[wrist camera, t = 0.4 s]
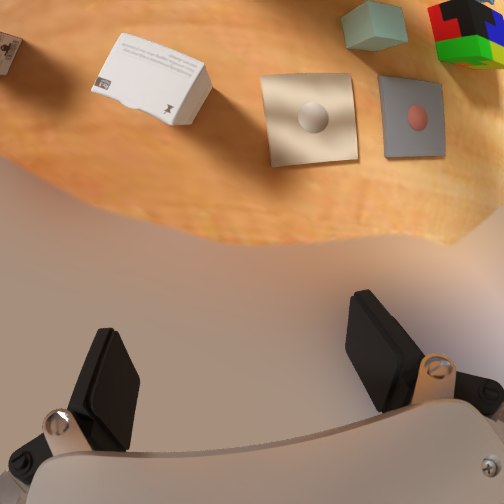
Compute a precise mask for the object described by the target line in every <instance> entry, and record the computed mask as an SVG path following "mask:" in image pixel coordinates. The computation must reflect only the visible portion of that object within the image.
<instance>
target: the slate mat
mask: <svg viewBox="0 0 504 504" xmlns="http://www.w3.org/2000/svg"><path fill="white" fill-rule="evenodd" d="M378 81H379V89H380V99H381V109H382V121H383V137H384V156H385V157H408V156H445V120H444V105H443V93H442V84H439V83H433V82H427V81H421V80H414V79H407V78H398V77H389V76H378Z"/></svg>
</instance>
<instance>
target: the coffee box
mask: <svg viewBox="0 0 504 504" xmlns="http://www.w3.org/2000/svg"><path fill="white" fill-rule="evenodd" d="M21 41H22V39H21V38H18V37H15V36H12V35H9V34H6V33H2V32H0V75H7V73H8V70H9V68H10V66H11V63H12V61H13V59H14V56H15V54H16V52H17V50H18V48H19V45H20V43H21Z"/></svg>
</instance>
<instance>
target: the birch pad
mask: <svg viewBox="0 0 504 504" xmlns="http://www.w3.org/2000/svg"><path fill="white" fill-rule="evenodd" d="M260 83H261V90H262V97H263V105H264V113H265V120H266V128H267V136H268V144H269V153H270V161H271V167H272V168H273V167H281V166H290V165H298V164H307V163H317V162H328V161H339V160H352V159H358V149H357V134H356V122H355V111H354V101H353V92H352V83H351V76H350V74H345V73H296V74H276V75H262V76H260Z"/></svg>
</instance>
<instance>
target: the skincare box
mask: <svg viewBox="0 0 504 504" xmlns="http://www.w3.org/2000/svg"><path fill="white" fill-rule="evenodd" d="M212 88H213V86H212V83H211V80H210V78H209V75H208V73H207V70H206V67H205V63H203V62H201V61H199V60H196V59H194V58H192V57H190V56H188V55H185V54H183V53H181V52H178V51H176V50H174V49H171V48H169V47H166V46H163V45H161V44H158V43H155V42H152V41H149V40H146V39H144V38H141V37H138V36H134V35H131V34H127V33H121V35H120V37H119V38H118V40H117V42H116V43H115V45H114V47H113V49H112V50H111V52H110V54H109V56H108V58H107V60H106V62H105V64H104V65H103V67H102V69H101V71H100V73H99V75H98V77H97V79H96V81H95V83H94V85H93V87H92V89H91V91H92V92H95V93H97V94H100V95H103V96H106V97H108V98H111V99H113V100H116V101H118V102H121V103H122V104H123V105H125V106H127V107H129V108H132V109H138V110H140V111H142V112H145V113H147V114H149V115H151V116H154V117H156V118H158V119H159V120H161V121H163V122H165V123H167V124H168V125H191V124H192V123H193V121H194V119H195V117H196V115H197V114H198V112H199V110H200V108H201V107H202V105H203V103H204V101H205V100H206V98H207V96H208V94H209V93H210V91H211V89H212Z"/></svg>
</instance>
